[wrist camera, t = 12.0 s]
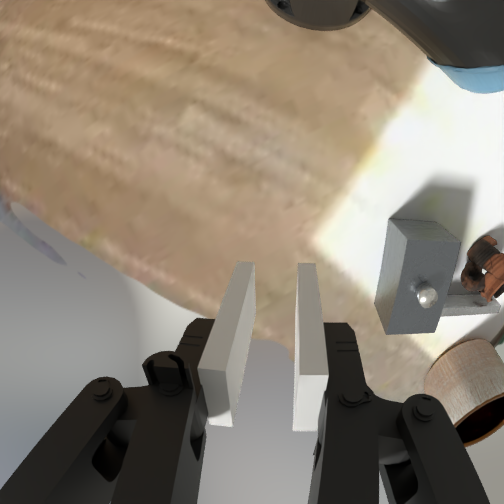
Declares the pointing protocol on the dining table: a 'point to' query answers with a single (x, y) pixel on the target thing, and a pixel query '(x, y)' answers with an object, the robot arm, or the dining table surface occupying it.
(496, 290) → the brown curved piece
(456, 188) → the dining table surface
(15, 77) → the dining table surface
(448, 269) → the motor bracket
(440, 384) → the planter
